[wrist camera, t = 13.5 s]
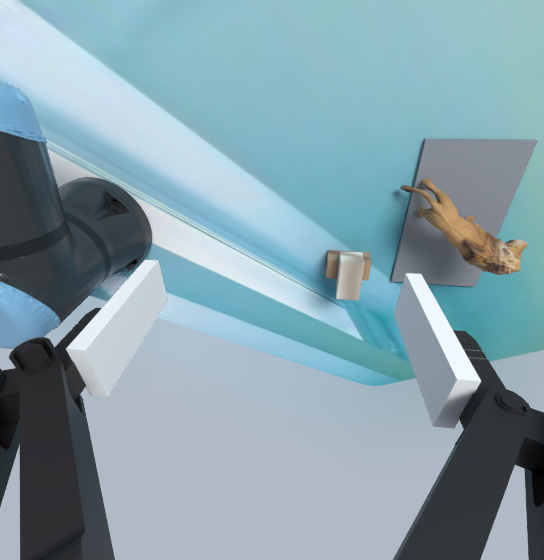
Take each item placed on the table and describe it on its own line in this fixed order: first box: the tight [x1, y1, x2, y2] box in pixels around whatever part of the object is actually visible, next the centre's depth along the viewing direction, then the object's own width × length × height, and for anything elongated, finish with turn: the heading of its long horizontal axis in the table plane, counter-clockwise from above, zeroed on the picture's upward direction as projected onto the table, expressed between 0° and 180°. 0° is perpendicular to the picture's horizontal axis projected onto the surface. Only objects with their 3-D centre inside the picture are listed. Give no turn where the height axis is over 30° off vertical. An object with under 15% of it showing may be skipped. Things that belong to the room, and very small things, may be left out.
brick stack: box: [326, 250, 372, 300], centre depth 44 cm, size 6×6×6 cm
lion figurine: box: [401, 178, 527, 275], centre depth 37 cm, size 15×5×9 cm, turn 63°
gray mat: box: [391, 139, 537, 287], centre depth 41 cm, size 12×20×1 cm, turn 1°
